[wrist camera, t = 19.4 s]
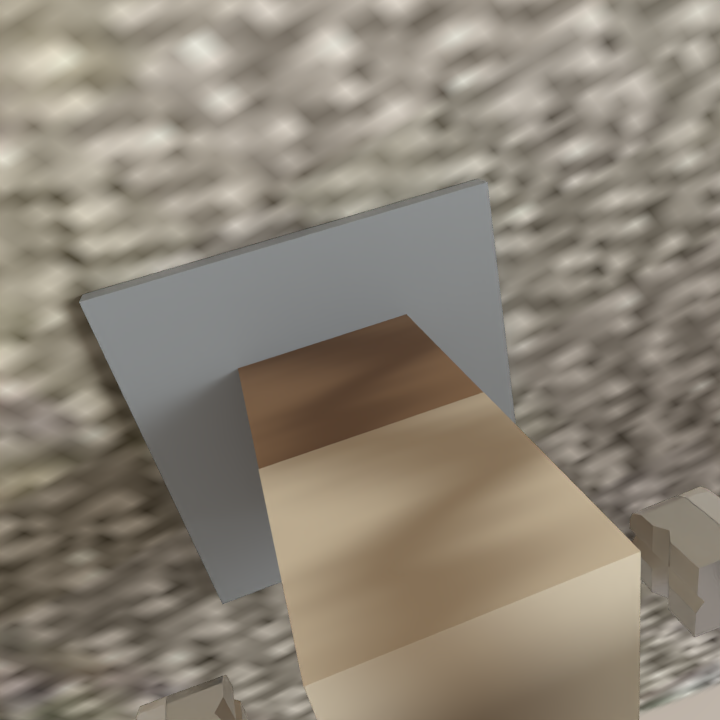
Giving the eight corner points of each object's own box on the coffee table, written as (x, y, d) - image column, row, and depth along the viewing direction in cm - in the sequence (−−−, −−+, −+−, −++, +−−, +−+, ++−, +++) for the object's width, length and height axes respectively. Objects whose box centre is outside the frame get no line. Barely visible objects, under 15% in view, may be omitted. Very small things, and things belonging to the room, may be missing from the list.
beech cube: (483, 392, 13) (641, 551, 9) (506, 557, 15) (639, 750, 11) (258, 469, 12) (303, 686, 8) (317, 631, 14) (378, 869, 10)
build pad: (477, 178, 17) (487, 182, 16) (515, 480, 22) (523, 490, 21) (82, 294, 15) (78, 302, 15) (221, 590, 20) (222, 604, 20)
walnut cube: (406, 314, 17) (484, 393, 13) (433, 451, 20) (507, 558, 15) (237, 368, 17) (259, 471, 12) (286, 504, 19) (319, 631, 15)
